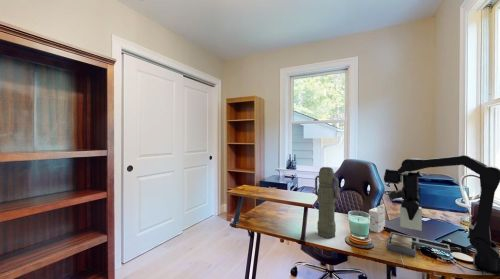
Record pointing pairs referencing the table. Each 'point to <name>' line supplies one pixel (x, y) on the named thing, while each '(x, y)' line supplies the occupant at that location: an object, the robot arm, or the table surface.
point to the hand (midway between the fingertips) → (410, 219)
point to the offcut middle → (401, 244)
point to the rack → (416, 245)
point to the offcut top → (402, 239)
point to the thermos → (326, 202)
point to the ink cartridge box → (377, 218)
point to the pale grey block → (411, 224)
